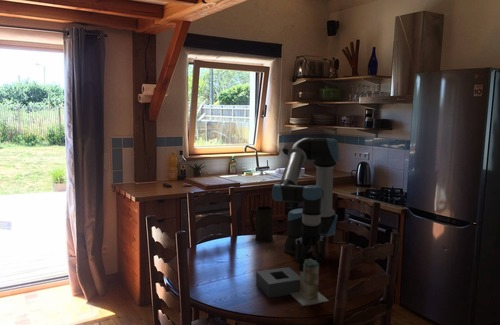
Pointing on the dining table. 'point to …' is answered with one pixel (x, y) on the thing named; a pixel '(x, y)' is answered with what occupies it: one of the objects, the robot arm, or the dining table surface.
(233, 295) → the dining table surface
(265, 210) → the beer stein
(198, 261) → the dining table surface
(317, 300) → the coaster
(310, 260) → the teal and tan block
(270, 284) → the block
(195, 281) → the dining table surface
